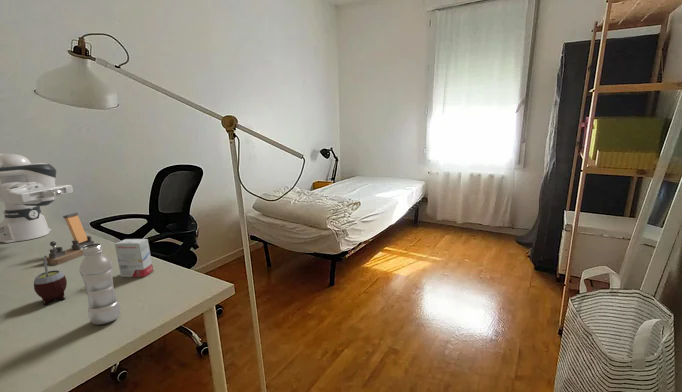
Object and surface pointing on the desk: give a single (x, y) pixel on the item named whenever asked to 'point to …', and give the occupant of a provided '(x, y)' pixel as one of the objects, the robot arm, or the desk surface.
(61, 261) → the switch panel
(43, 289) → the mate gourd
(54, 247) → the toggle lever
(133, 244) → the ink box
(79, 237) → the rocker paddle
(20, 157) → the robot arm
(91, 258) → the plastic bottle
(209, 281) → the desk surface
